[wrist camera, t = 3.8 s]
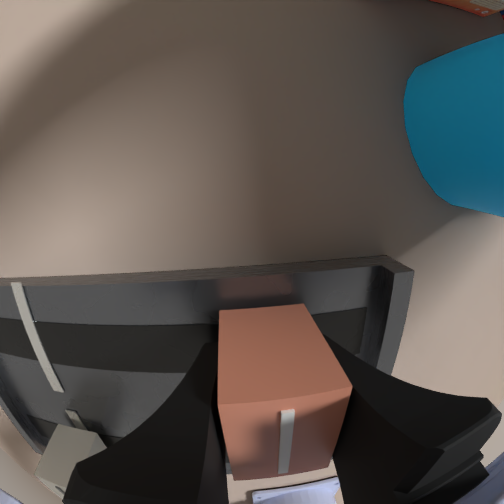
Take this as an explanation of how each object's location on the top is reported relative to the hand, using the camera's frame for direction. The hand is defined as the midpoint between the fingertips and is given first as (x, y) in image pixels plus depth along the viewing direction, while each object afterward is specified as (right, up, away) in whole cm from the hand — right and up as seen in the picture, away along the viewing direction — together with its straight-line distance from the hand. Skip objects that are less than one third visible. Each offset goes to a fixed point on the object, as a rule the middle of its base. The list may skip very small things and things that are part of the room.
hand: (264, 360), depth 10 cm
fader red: (0, 0, +1) cm, 0 cm away
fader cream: (-11, -8, +2) cm, 14 cm away
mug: (+12, +10, +1) cm, 16 cm away
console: (-6, -4, +3) cm, 8 cm away
